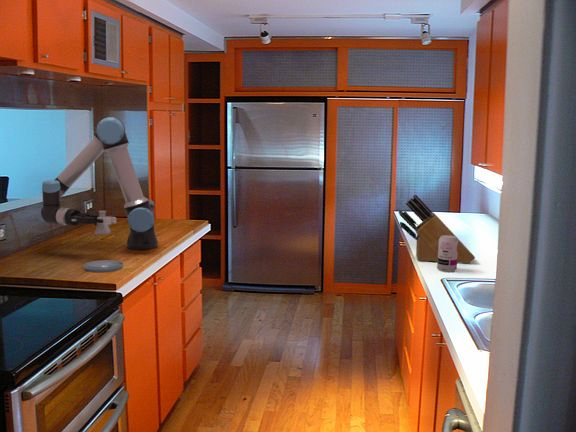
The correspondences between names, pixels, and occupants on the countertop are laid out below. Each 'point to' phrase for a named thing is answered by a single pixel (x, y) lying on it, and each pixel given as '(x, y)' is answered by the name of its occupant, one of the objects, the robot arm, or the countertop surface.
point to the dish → (103, 266)
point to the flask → (102, 225)
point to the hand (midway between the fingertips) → (112, 221)
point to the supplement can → (447, 253)
